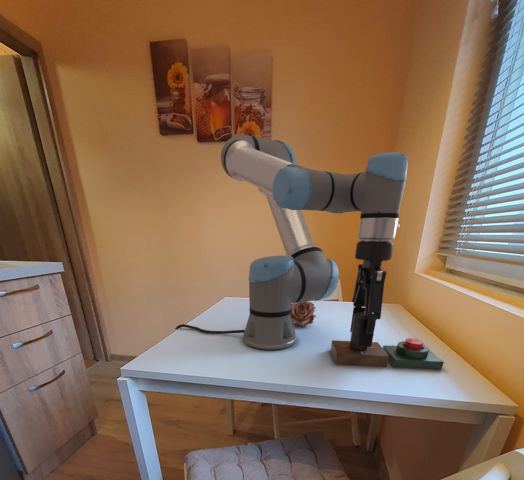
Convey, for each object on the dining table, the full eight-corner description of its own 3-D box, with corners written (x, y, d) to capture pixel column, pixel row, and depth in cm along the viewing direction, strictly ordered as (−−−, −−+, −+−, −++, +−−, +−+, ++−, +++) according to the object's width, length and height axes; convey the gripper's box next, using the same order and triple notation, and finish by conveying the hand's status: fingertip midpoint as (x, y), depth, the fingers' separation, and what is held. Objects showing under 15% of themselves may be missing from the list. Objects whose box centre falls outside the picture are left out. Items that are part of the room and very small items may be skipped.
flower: (288, 314, 101) (286, 300, 95) (313, 310, 100) (313, 295, 94) (292, 336, 96) (290, 322, 90) (318, 331, 95) (318, 317, 89)
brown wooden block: (335, 365, 67) (337, 353, 66) (330, 350, 75) (331, 339, 74) (386, 367, 66) (389, 355, 65) (375, 352, 74) (378, 341, 73)
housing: (393, 367, 66) (396, 352, 64) (381, 352, 74) (384, 338, 73) (441, 370, 65) (446, 354, 64) (424, 354, 73) (428, 340, 72)
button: (407, 350, 67) (409, 343, 66) (401, 344, 70) (402, 337, 70) (424, 351, 66) (426, 344, 66) (417, 345, 70) (419, 338, 69)
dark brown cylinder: (351, 350, 68) (356, 315, 64) (347, 343, 72) (352, 310, 68) (369, 351, 67) (376, 316, 64) (365, 344, 71) (370, 311, 68)
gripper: (414, 242, 50) (390, 357, 58) (378, 239, 69) (364, 325, 78) (371, 241, 50) (353, 355, 59) (348, 239, 70) (337, 324, 79)
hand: (359, 338), depth 69 cm, fingers open, 9 cm apart
